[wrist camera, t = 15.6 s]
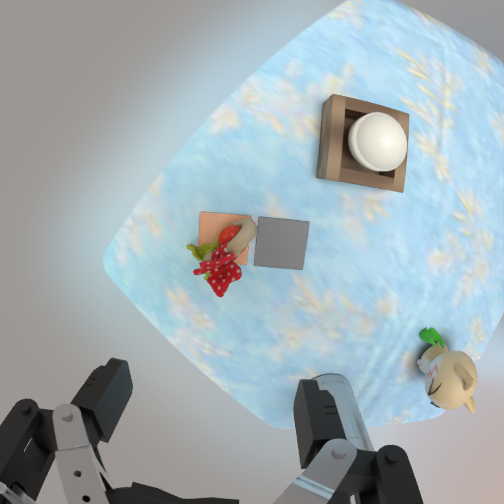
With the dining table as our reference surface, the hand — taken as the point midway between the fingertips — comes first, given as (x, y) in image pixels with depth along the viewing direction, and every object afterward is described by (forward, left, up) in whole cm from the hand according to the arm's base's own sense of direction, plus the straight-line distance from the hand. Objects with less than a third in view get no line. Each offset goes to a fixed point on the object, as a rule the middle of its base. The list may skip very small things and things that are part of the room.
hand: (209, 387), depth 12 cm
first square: (0, -5, -26) cm, 27 cm away
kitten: (-18, -37, -26) cm, 49 cm away
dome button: (+14, -14, -23) cm, 30 cm away
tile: (0, +2, -26) cm, 26 cm away
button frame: (+14, -14, -26) cm, 33 cm away
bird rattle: (0, +2, -26) cm, 26 cm away
